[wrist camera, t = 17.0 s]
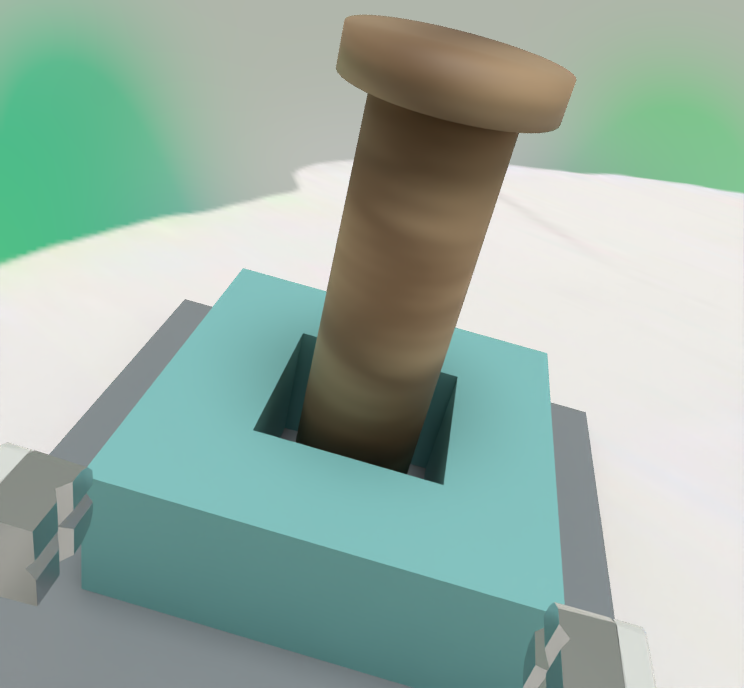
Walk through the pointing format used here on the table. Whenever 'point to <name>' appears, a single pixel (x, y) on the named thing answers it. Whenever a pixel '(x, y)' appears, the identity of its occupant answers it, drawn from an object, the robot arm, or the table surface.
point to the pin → (414, 221)
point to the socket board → (310, 521)
